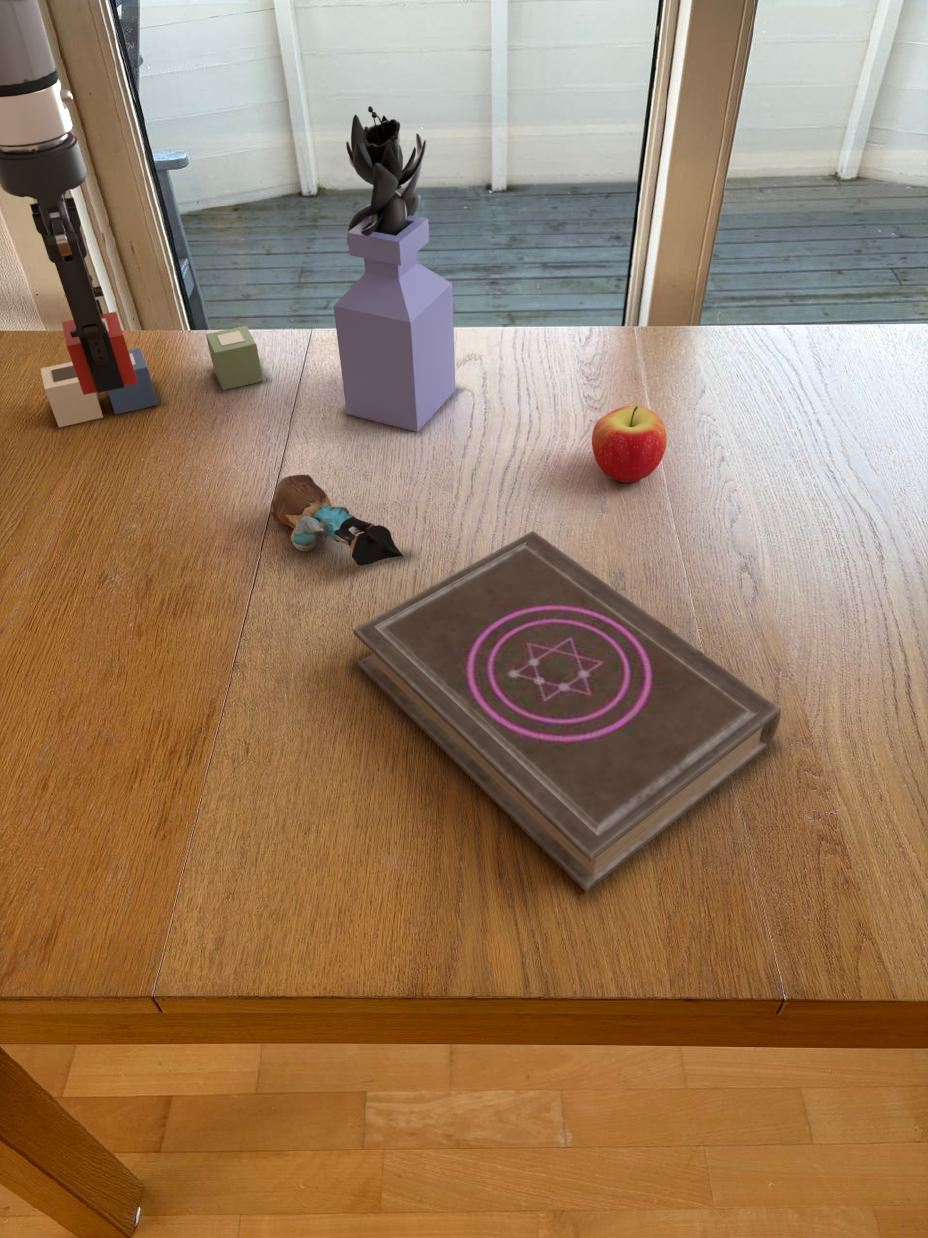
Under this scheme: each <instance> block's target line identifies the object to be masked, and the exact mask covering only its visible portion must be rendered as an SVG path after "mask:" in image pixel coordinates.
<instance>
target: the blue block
mask: <svg viewBox="0 0 928 1238" xmlns="http://www.w3.org/2000/svg"><path fill="white" fill-rule="evenodd" d="M128 351H129V354H130V358H131V361H132V365H133V368H134V371H135V375H136V378H137V382H138V384H133V385H128V386H124V387H125V388H120V389H115V390H110V391H107V394H108V398H109V400H110V403H111V406H112V410H113V413H114V415H120V414H124V413H128V412H129V413H130V412H133V411H138V410H142V409H147V408H152V407H156V406H158V405H159V402H158V399H157V396H156V392H155V388H154V385H153V381H152V378H151V375H150V371H149V368H148V365H147V363H146V359H145V355H144V354H143V351H142V348H141V347H137V348H131V349H128Z"/></svg>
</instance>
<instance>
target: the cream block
mask: <svg viewBox="0 0 928 1238" xmlns="http://www.w3.org/2000/svg"><path fill="white" fill-rule="evenodd" d="M40 373H41V378H42V384H43V390H44V392H45V395H46V398H47V400H48V403H49V406H50V408H51V410H52V413H53V416H54V419H55V421H56V424H57V427H58V428H63V427H68V426H72V425H76V424H81V423H84V422H89V421H94V420H99V419H102V418H104V415H103V412H102V408H101V404H100V399H99V396H98V393H97V392H95V393H91V394H86V395H84V394H83V392H82V389H81V386H80V383H79V380H78V377H77V375H76V372H75V369H74V366H73V363H72V361H69V362H64V363H60V364H56V365H51V366H46V367H45V366H44V367H41V368H40Z"/></svg>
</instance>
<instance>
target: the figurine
mask: <svg viewBox="0 0 928 1238" xmlns="http://www.w3.org/2000/svg"><path fill="white" fill-rule="evenodd" d="M269 507H270V512H269V513H270V518H271V520H273V521H274V522H276V523H277V524H281V525H286V526H287V525H288V526H289V527H291V528H292V529H293V531H292V533H291V535H290V541H291V544H292V545H293V546H294V548H295V549H297V550H298V551H302V552H309V551H311V550H312V549H314V548H315V547H316V546H317V543H318V541H319V537H324V538H329V539H332V540H333V541H335V542H337V543H341V544H345V545H347V546H348V547H349V548H350V550H351V551H352V552H351V558H352V559H353V561H354V564H355V566H357V567H363V566H367V565H371V564H374V563H377V562H380V561H383V560H387V559H394V558H399V557H402V558H403V557H405V555H403V553H402V552H401V551H400V550H399V548H398V547H397V546H396V544H395V542H394V539H393V537H392V533H391V531H390V530H389V529H388V528H387V527H385V526H384V525H381V524H377V525H375V524H374V523H372V522H367V521H364V520H362V519H360V518H357V517H355V516H354V515H352V514H350V510H349V509H348V508H347V507H345V506H333V505H332V503H331V500H330V498H329V496H328V494H327V492H326V491H325V490H323V488H321V487H320V486H319V485H317V484H316V482H315V480H314V479H313V478H312V477H311V475H309V474H295V475H294V474H293V475H289V476H285V477H284V478H282V479H281V480H280V481H279V482H278V484H277V486H276V488H275V491H274V493H273V497H272V499H271V502H270V506H269ZM357 534H358V535H357Z"/></svg>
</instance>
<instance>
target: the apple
mask: <svg viewBox="0 0 928 1238" xmlns="http://www.w3.org/2000/svg"><path fill="white" fill-rule="evenodd" d="M667 441H668V440H667V430H666V426H665V424H664V421H663V420H662V418H661V417H660V415H659V413H657V412H656V411H654V410H652V409H649V408H647V407H643V406H638V405H626V406H622V407H619V408H616V409H614V410H612V411H610V412H608V413H606V414H605V415H603V416H601V418H599V419H598V420H597V421H596V422H595V425H594V427H593V429H592V434H591V449H592V453H593V456H594V459H595V462H596V464H597V466H598V468H599V469H600V471H601V472H602V473H603V474H604V475H605V476H607V477H608V478H610V479H612V480H614V481H617V482H618V481H619V482H620V483H621V482H622V483H635V482H638V481H641V480H644V479H645V478H647V477H648V476H650V475H651V474H652V473H653V472H654V471H656V469H657V468H658V466H659V465H660V464H661V462H662V460H663V458H664V455H665V452H666V448H667Z"/></svg>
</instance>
